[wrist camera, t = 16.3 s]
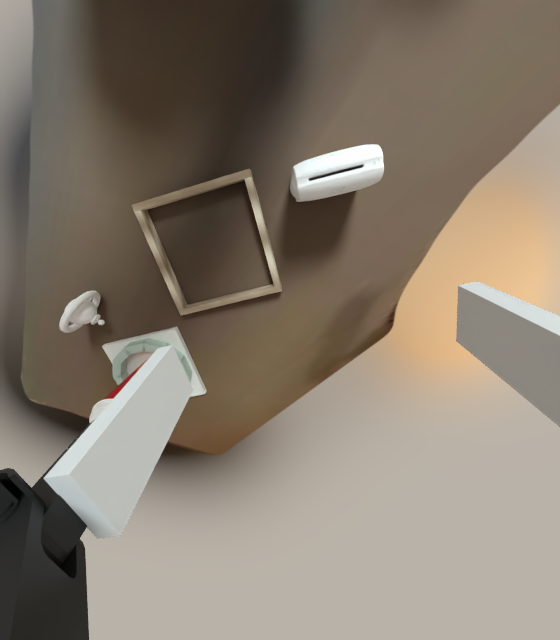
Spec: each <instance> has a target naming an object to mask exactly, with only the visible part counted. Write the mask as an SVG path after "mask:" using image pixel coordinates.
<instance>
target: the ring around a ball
mask: <svg viewBox="0 0 560 640" xmlns="http://www.w3.org/2000/svg"><path fill="white" fill-rule="evenodd" d="M89 298H90V299H89ZM92 298H93V301H92V302H91V299H92ZM87 299H89V300H87ZM100 299H101V297H100V294H99V293H98V292H97V291H88V292H85V293H83V294H82V295H80V296H79V297H78V298H76V299H74V300H72V301H71V302H70V303H69V304H68V305H67V306H66V308H65V310H64V313H63V315H62V317H61V320H60V324H59V327H60V329H61V331H63V332H65V333H70V332H73V331H75V330H77V329H79V328H80V327H81V326H83V325H84V324H88V323H90V322H91V324H92V325H94V324H96V323H97V322H98V324H99V325H104V323H105V322H104V320H99V319H100V317H101V315H99V314H98V315H97V308H98V306H99V303H100ZM96 318H97V319H96ZM69 321H70V322H72V323H74V324H73V325H71V326H68V323H69Z"/></svg>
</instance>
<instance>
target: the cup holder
mask: <svg viewBox="0 0 560 640" xmlns="http://www.w3.org/2000/svg"><path fill="white" fill-rule="evenodd" d="M170 345H173V347H174V349H175V351H176V354H177V356H178V358H179V360H180V362H181V364H182V366H183V369H184V371H185V373H186V375H187V377H188V379H189V382H190V384H191V386H192V388H193V391H192V393H191V395H190V397H192V396H198V395H203V394H206V391H207V390H206V388H205V386H204V384H203V381H202V379H201V377H200V375H199V373H198V371H197V368H196V366H195V364H194V362H193V360H192V357H191V355H190V353H189V351H188V349H187V347H186V344H185V342H184V340H183V338H182V336H181V333H180V331H179V329H178V327H173V328H169V329H165V330H161V331H157V332H152V333H148V334H144V335H140V336H135V337H131V338H127V339H123V340H118V341H114V342H110V343H106V344H104V345H103V346H102V348H103V349H104V351H105V353H106V354H107V356H108V358H109V359H110V361H111V363H112V364H113V378H114V380H115V381H116V383H117V384H118V385H120V384H121V383H122V382H123V381H124V380H125V379H126V378H127V377H128V376H129V375H130V374H131V373H132V372H133V371H135V370H136V369H137V368H138V367H139V366H140V365H141V364H142V363H143V362H145V361H146V360H148V359H149V358H150V357H151V356H152V354H153V353H154V352H155V351H156V350H157V349H158V348H161V347H166V346H170Z"/></svg>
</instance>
